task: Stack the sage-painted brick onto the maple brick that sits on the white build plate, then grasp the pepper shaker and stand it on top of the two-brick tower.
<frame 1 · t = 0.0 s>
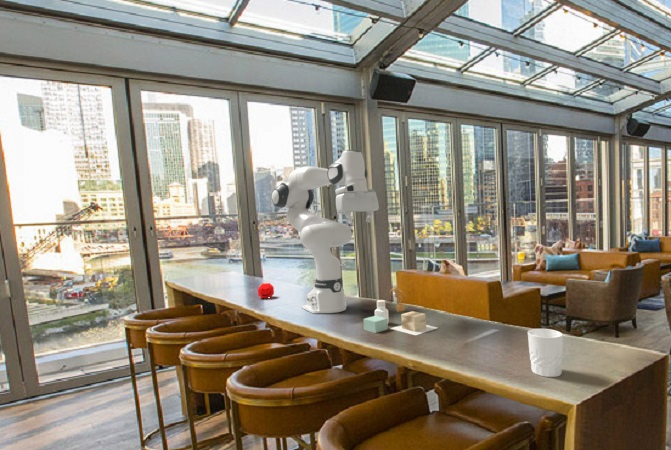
hand: (360, 222, 163), 39 cm above the table, tool pointing down, fingers open, 8 cm apart
pepper shaker: (382, 326, 152), on the table
build plate: (414, 330, 143), on the table
sage brick: (375, 332, 144), on the table
figurine: (399, 313, 169), on the table
maple brick: (413, 328, 143), point 1 cm above the table, touching build plate
ball: (266, 298, 217), on the table
white cup: (546, 372, 102), on the table
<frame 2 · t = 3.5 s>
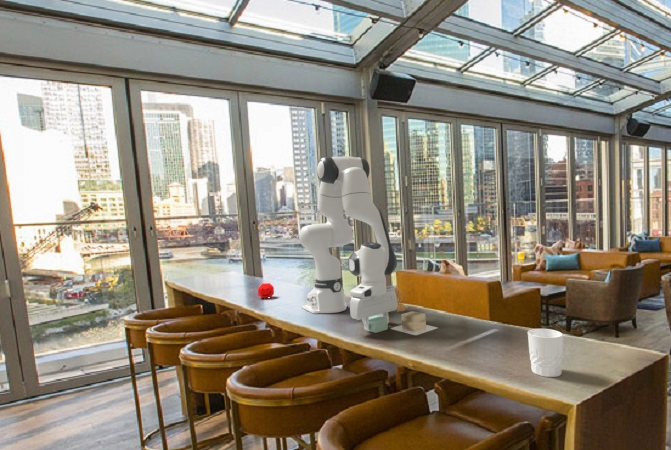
hand: (375, 327, 144), 2 cm above the table, tool pointing down, fingers closed on sage brick, 6 cm apart
sage brick: (375, 332, 144), on the table, touching gripper
everything else where it was.
when the fingers open (9 cm above the table, at t = 7.8 s): sage brick stays where it is, resting on maple brick.
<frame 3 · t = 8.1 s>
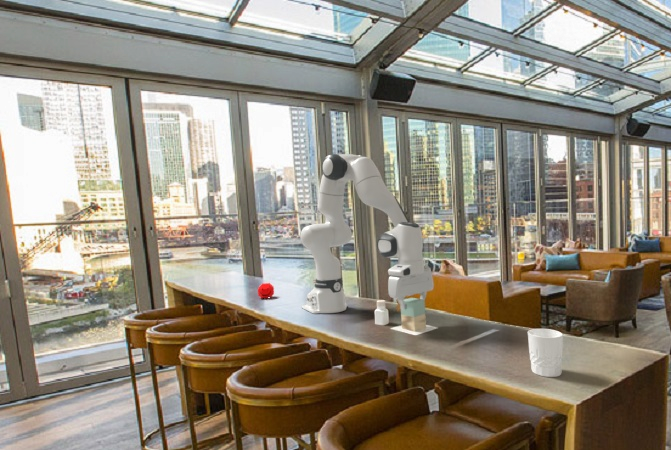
hand: (412, 306, 143), 9 cm above the table, tool pointing down, fingers open, 8 cm apart
sage brick: (413, 314, 143), point 6 cm above the table, touching maple brick
maple brick: (413, 328, 143), point 1 cm above the table, touching build plate, sage brick
everything else where it was.
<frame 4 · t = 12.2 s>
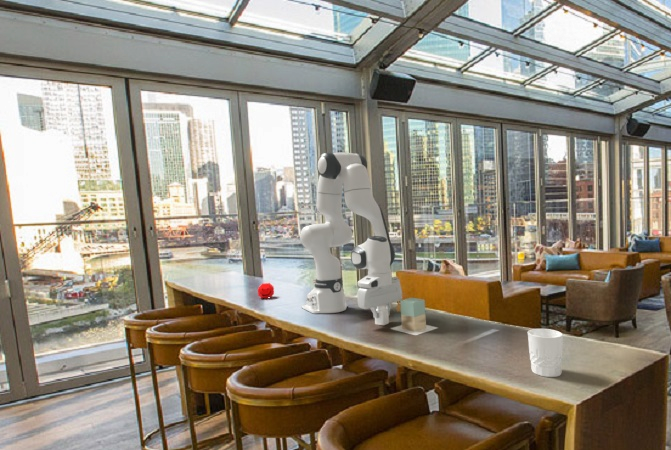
hand: (381, 316, 152), 4 cm above the table, tool pointing down, fingers closed on pepper shaker, 4 cm apart
pepper shaker: (382, 326, 152), on the table, touching gripper
everything else where it was.
when the fingers open (15 cm above the table, at t = 17.5 s): pepper shaker stays where it is, resting on sage brick.
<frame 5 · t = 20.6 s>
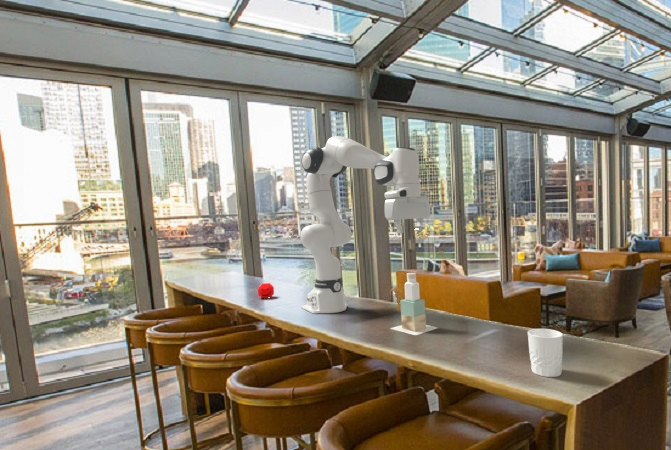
hand: (409, 232, 143), 35 cm above the table, tool pointing down, fingers open, 8 cm apart
pepper shaker: (412, 300, 143), point 11 cm above the table, touching sage brick
sage brick: (413, 314, 143), point 6 cm above the table, touching maple brick, pepper shaker
everything else where it was.
at the end: sage brick 0.1 cm off-centre on the maple brick, point 5.0 cm above the maple brick's base; pepper shaker 0.1 cm off-centre on the sage brick, point 4.8 cm above the sage brick's base; pepper shaker tilted 0° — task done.
